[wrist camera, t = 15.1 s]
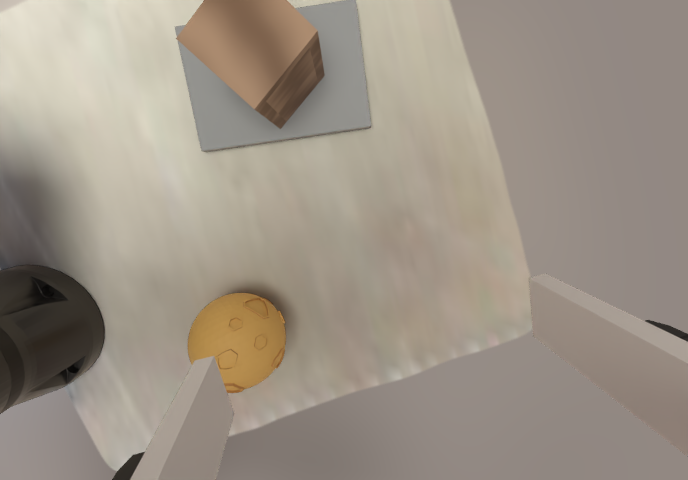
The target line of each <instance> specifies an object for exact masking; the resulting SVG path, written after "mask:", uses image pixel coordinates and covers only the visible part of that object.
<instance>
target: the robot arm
mask: <svg viewBox="0 0 688 480" xmlns="http://www.w3.org/2000/svg"><path fill="white" fill-rule="evenodd" d="M529 287H530V301H531V314H532V328H533V336H534V337H535V338H536V339H538V340H539V341H540V342H541V343H543V344H544V345H545V346H546V347H548V348H549V349H550V350H551V351H553V352H554V353H555V354H557V355H558V356H559V357H560V358H562V359H563V360H565V361H566V362H567V363H568V364H569V365H571V366H572V367H573V368H574V369H576V370H577V371H578V372H580V373H581V374H582V375H583V376H585V377H586V378H587V379H589V380H590V381H591V382H592V383H594V384H595V385H596V386H598V387H599V388H600V389H601V390H603V391H604V392H605V393H607V394H608V395H609V396H610V397H612V398H613V399H614V400H615V401H617V402H618V403H619V404H621V405H622V406H623V407H624V408H626V409H627V410H629V412H631V413H632V414H633V415H635V416H636V417H637V418H638V419H640V420H641V421H642V422H644V423H645V424H646V425H647V426H649V427H650V428H651V429H653V430H654V431H655V432H656V433H658V434H659V435H660V436H662V437H663V438H664V439H665V440H667V441H668V442H669V443H671V444H672V445H673V446H674V447H676V448H677V449H678V450H679V451H681V452H682V453H683V454H684V455H686V456H687V457H688V334H687V333H684V332H682V331H680V330H678V329H676V328H673V327H671V326H668V325H665V324H661V323H657V322H654V321H650V320H646V321H643V320H641V319H639V318H637V317H635V316H633V315H631V314H629V313H626V312H625V311H623V310H620V309H618V308H616V307H614V306H612V305H610V304H608V303H606V302H604V301H602V300H600V299H598V298H595V297H593V296H591V295H589V294H587V293H585V292H583V291H581V290H579V289H577V288H575V287H573V286H571V285H568V284H566V283H564V282H562V281H560V280H558V279H556V278H554V277H552V276H550V275H548V274H543V275H539V276H535V277H531V278H529ZM103 340H104V328H103V322H102V318H101V315H100V312H99V310H98V308H97V306H96V304H95V302H94V301H93V299H92V298H91V296H90V295H89V294H88V293H87V291H86V290H85V289H84V288H83V287H82V286H81V285H79V284H78V283H77V282H76V281H74V280H73V279H72V278H70V277H68V276H67V275H65V274H63V273H61V272H59V271H56V270H54V269H51V268H47V267H43V266H36V265H22V266H15V267H11V268H8V269H4V270H1V271H0V414H1V413H3V412H4V411H5V410H7V409H8V408H10V407H12V406H14V405H17V404H20V403H23V402H25V401H28V400H31V399H33V398H36V397H39V396H42V395H44V394H47V393H50V392H53V391H55V390H58V389H60V388H63V387H64V386H66V385H68V384H70V383H71V382H73V381H74V380H75V379H77V378H78V377H79V376H81V375H82V374H83V373H84V372H86V371H87V370H88V369H89V368H90V367H91V366H92V365H93V364H94V363H95V361H96V360H97V358H98V356H99V354H100V352H101V349H102V345H103ZM233 416H234V411H233V408H232V405H231V403H230V400H229V397H228V394H227V391H226V388H225V385H224V383H223V380H222V377H221V374H220V371H219V368H218V365H217V363H216V360H215V357H214V356H211V357H207V358H203V359H199V360H195V361H194V363H193V364H192V366H191V368H190V370H189V372H188V374H187V376H186V377H185V379H184V381H183V383H182V385H181V387H180V388H179V390H178V392H177V394H176V396H175V398H174V400H173V401H172V403H171V405H170V407H169V409H168V411H167V412H166V414H165V416H164V418H163V420H162V422H161V423H160V425H159V427H158V429H157V431H156V433H155V435H154V436H153V438H152V440H151V442H150V444H149V446H148V447H147V449H146V451H145V452H143V453H139V454H135V455H133V456H132V457H131V458H130V459H129V460H128V461H127V462H126V463H125V464H124V465H123V466H122V467H121V468H120V469H119V470H118V471H117V473H116V475H115V476H114V478H113V479H112V480H216V477H217V474H218V470H219V466H220V462H221V459H222V455H223V452H224V448H225V445H226V441H227V437H228V434H229V430H230V427H231V423H232V419H233Z"/></svg>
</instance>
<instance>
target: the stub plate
mask: <svg viewBox="0 0 688 480" xmlns="http://www.w3.org/2000/svg"><path fill="white" fill-rule="evenodd" d="M295 9H296V10H297V11H298V12H299V13H300V14H301V15H302V16H303V17H304V18H305V19H306V20H307V21H308V22H309V23H310V24H311V25H313V26H314V27H315V28H316V29H317V30H318V35H319V42H320V48H321V55H322V61H323V67H324V74H325V76H324V77H323V78H322V80H321V81H320V82H319V83H318V84H317V86H316V87H315V88H314V89H313V90H312V92H311V93H310V94H309V95H308V96H307V98H306V99H305V100H304V101H303V102H302V104H301V105H300V106H299V107H298V109H297V110H296V111H295V112H294V113H293V115H292V116H291V117H290V118H289V119H288V121H287V122H286V123H285V124H284V125H283V127H282V128H281V129H280V128H278V127H277V126H276V125H274V124H273V123H272V122H270V121H269V120H268V119H266V118H265V117H264V116H262V115H261V114H260V113H259V112H257V111H256V110H255V109H253V108H252V107H251V106H250V105H249V104H248V103H247V102H246V101H245V100H243V99H242V98H241V97H240V96H239V95H238V94H237V93H236V92H235V91H233V90H232V89H231V88H230V87H229V86H228V85H227V84H226V83H225V82H224V81H222V80H221V79H220V78H219V77H218V76H217V75H216V74H215V73H214V72H212V71H211V70H210V69H209V68H208V67H207V66H206V65H205V64H204V63H203V62H201V61H200V60H199V59H198V58H197V57H196V56H195V55H194V54H193V53H191V52H190V51H189V50H188V49H187V48H186V47H185V46H184V45H183V44H182V43H180V42H179V41H178V44H179V49H180V53H181V58H182V63H183V67H184V72H185V77H186V81H187V86H188V91H189V95H190V100H191V104H192V109H193V114H194V118H195V123H196V128H197V132H198V137H199V142H200V146H201V151H204V152H210V151H217V150H224V149H231V148H238V147H244V146H251V145H258V144H265V143H271V142H278V141H285V140H292V139H299V138H305V137H312V136H319V135H326V134H333V133H339V132H346V131H353V130H360V129H366V128H370V127H371V120H370V112H369V104H368V95H367V87H366V79H365V71H364V63H363V54H362V46H361V38H360V30H359V22H358V13H357V5H356V0H345V1H339V2H332V3H326V4H319V5H313V6H306V7H300V8H295ZM185 26H186V25H182V26H176V27H175V30H176V35H177V37H178V35H179V34H180V32H181V31H182V30H183V28H184V27H185Z"/></svg>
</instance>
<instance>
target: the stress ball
mask: <svg viewBox="0 0 688 480" xmlns="http://www.w3.org/2000/svg"><path fill="white" fill-rule="evenodd" d="M284 323H285V320H284V318H283V316H282V314H281V312H280V311H277V310H276V308H275V307H274V306H273V305H272V303H271V302H270V301H269V300H267V299H266V298H264V299H263V298H262V297H259V296H257V295H254V294H249V293H233V294H228V295H225V296H222V297H220V298H217V299H216V300H214V301H212V302H211V303H210V304H208V305H207V306H206V307H205V308H204V309H203V310H202V311H201V312H200V313H199V315H198V316H197V317H196V319H195V321H194V323H193V325H192V327H191V329H190V333H189V338H188V354H189V358H190V362H191V364H193V363H194V361H195V360H199V359H203V358H207V357H211V356H214V357H215V360H216V363H217V365H218V368H219V371H220V374H221V377H222V380H223V383H224V385H225V388H226V391H227V393H237V392H242V391H243V390H244V389H247V388H249V387H252V386H254V385H256V384H258V383H260V382H262V381H263V380H264V379H266V378H267V377H268V376H269V375H270V374H271V373H272V372H273V371H274V370H275V368H278V366H279V365H280V363H281V361H282V359H283V356H284V352H285V344H286V332H285V327H284Z"/></svg>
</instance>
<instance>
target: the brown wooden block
mask: <svg viewBox="0 0 688 480" xmlns="http://www.w3.org/2000/svg"><path fill="white" fill-rule="evenodd" d="M176 39H177V40H178V41H179V42H180V43H182V44H183V45H184V46H185V47H186V48H187V49H188V50H189V51H190V52H191V53H193V54H194V55H195V56H196V57H197V58H198V59H199V60H200V61H201V62H203V63H204V64H205V65H206V66H207V67H208V68H209V69H210V70H211V71H212V72H214V73H215V74H216V75H217V76H218V77H219V78H220V79H221V80H222V81H224V82H225V83H226V84H227V85H228V86H229V87H230V88H231V89H232V90H233V91H235V92H236V93H237V94H238V95H239V96H240V97H241V98H242V99H243V100H245V101H246V102H247V103H248V104H249V105H250V106H251V107H252V108H253V109H255V110H256V111H257V112H259V113H260V114H261V115H262V116H264V117H265V118H266V119H268V120H269V121H270V122H272V123H273V124H274V125H276V126H277V127H278V128H280V129H281V128H282V127H283V125H284V124H285V123H286V122H287V121H288V119H289V118H290V117H291V116H292V115H293V113H294V112H295V111H296V110H297V109H298V107H299V106H300V105H301V104H302V102H303V101H304V100H305V99H306V98H307V96H308V95H309V94H310V93H311V92H312V90H313V89H314V88H315V87H316V86H317V84H318V83H319V82H320V81H321V80H322V78H323V77H324V76H325V74H324V67H323V61H322V55H321V48H320V42H319V35H318V30H317V29H316V28H315V27H314V26H313V25H311V24H310V23H309V22H308V21H307V20H306V19H305V18H304V17H303V16H302V15H301V14H300V13H299V12H298V11H297V10H296V9H295V8H294V7H293V6H292V5H291V4H290V3H289V2H288V1H287V0H204V1H203V3H202V4H201V5H200V7H199V8H198V10H197V11H196V12H195V14H194V15H193V16H192V18H191V19H190V20H189V22H188V23H187V24H186V26H185V27H184V28H183V30H182V31H181V32H180V34H179V35H178V37H177V38H176Z"/></svg>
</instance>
